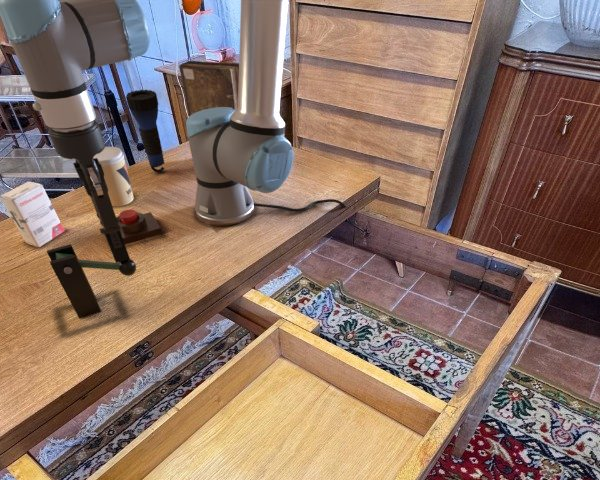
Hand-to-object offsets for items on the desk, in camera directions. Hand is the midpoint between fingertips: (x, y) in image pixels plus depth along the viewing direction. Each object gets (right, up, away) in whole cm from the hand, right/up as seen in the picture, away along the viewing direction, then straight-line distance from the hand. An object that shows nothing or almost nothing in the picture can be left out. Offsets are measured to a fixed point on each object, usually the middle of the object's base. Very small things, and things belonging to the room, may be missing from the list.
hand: (122, 259), depth 86 cm
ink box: (-29, +13, +24) cm, 40 cm away
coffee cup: (-15, +28, +36) cm, 48 cm away
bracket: (-8, -10, +5) cm, 14 cm away
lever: (-5, -3, 0) cm, 5 cm away
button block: (-7, +14, +24) cm, 28 cm away
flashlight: (-7, +41, +46) cm, 62 cm away
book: (+11, +46, +50) cm, 69 cm away
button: (-7, +16, +21) cm, 27 cm away
